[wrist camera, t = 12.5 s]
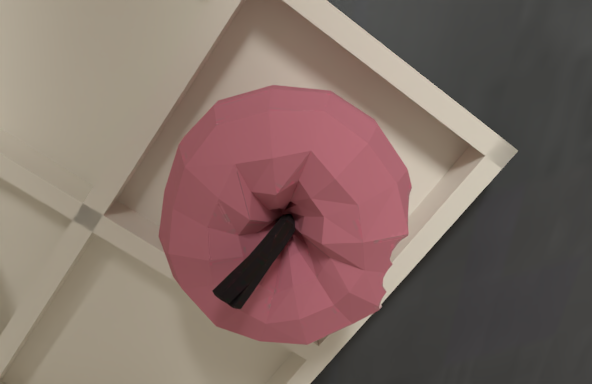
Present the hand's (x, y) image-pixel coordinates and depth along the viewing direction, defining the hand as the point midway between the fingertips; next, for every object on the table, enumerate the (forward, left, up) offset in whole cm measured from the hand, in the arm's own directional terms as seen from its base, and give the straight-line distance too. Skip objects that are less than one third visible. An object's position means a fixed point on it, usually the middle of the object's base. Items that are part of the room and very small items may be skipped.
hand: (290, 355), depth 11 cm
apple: (0, 0, -14) cm, 14 cm away
